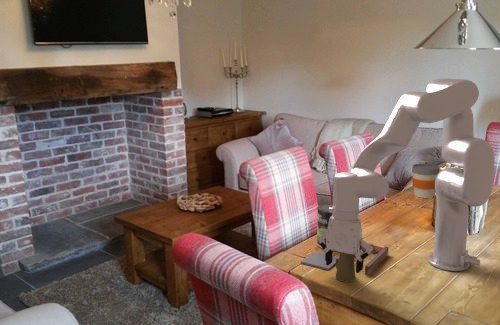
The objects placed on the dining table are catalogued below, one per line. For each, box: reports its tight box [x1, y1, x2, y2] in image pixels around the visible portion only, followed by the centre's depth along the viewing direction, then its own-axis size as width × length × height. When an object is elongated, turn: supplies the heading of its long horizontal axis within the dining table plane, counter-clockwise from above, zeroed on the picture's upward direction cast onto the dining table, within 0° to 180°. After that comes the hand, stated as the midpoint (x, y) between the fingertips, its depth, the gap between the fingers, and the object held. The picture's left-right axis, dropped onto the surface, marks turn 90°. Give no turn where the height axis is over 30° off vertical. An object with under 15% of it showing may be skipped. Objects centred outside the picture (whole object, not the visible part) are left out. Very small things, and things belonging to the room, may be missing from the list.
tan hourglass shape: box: [335, 252, 356, 283], centre depth 139 cm, size 6×6×11 cm
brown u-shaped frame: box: [335, 241, 389, 276], centre depth 151 cm, size 11×18×3 cm, turn 145°
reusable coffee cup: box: [411, 163, 440, 198], centre depth 221 cm, size 12×13×15 cm
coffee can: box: [316, 203, 333, 249], centre depth 164 cm, size 10×10×14 cm
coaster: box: [300, 251, 338, 271], centre depth 152 cm, size 10×10×1 cm
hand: (343, 267), depth 139 cm, fingers open, 9 cm apart
